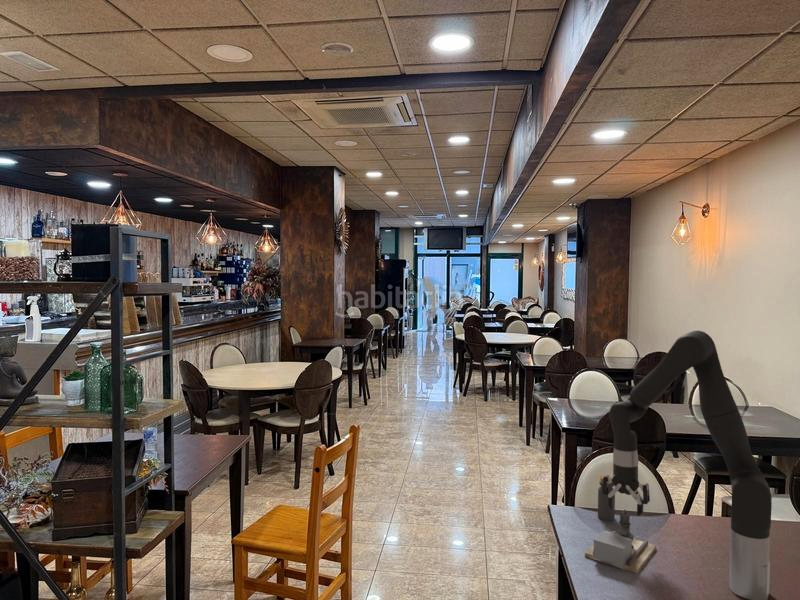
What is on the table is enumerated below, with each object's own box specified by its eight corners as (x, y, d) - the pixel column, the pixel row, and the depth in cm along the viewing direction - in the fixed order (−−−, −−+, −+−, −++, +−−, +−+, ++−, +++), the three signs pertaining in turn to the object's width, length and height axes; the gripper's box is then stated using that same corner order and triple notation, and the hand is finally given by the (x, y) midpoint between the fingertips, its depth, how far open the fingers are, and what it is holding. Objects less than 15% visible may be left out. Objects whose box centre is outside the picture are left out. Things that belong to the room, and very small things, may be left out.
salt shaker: (635, 550, 176) (636, 513, 175) (616, 548, 177) (617, 512, 176) (632, 542, 181) (632, 506, 181) (613, 540, 182) (613, 504, 182)
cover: (631, 557, 171) (631, 539, 171) (623, 567, 165) (623, 548, 164) (602, 548, 176) (602, 530, 176) (593, 557, 170) (593, 539, 170)
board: (655, 549, 179) (656, 542, 179) (637, 573, 164) (637, 566, 164) (606, 534, 190) (606, 528, 189) (584, 556, 174) (584, 549, 174)
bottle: (600, 512, 208) (601, 473, 207) (616, 517, 204) (617, 477, 203) (595, 517, 203) (596, 477, 203) (611, 522, 199) (612, 481, 199)
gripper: (599, 461, 180) (599, 509, 181) (644, 469, 171) (645, 521, 171) (607, 455, 186) (607, 503, 186) (652, 463, 177) (652, 513, 177)
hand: (625, 511), depth 179 cm, fingers open, 8 cm apart
